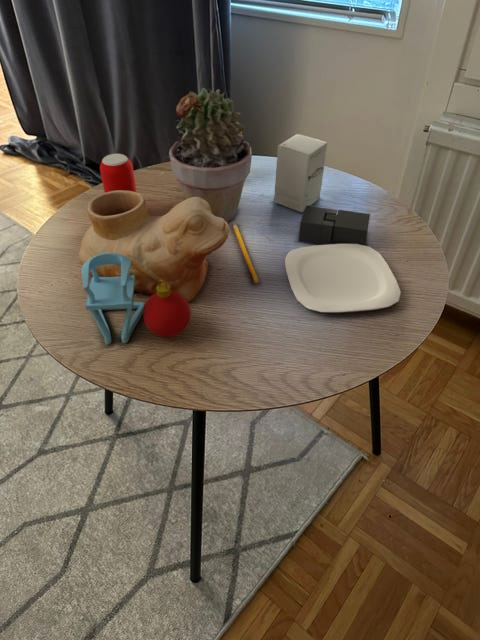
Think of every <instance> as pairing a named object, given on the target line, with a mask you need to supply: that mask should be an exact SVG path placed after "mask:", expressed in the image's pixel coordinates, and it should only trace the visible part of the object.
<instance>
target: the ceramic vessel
mask: <svg viewBox="0 0 480 640" xmlns="http://www.w3.org/2000/svg"><path fill="white" fill-rule="evenodd" d="M147 207H148V206H147V203H146V199H145V197H144V196H143V195H142V194H141V193H138V192H137V193H136V192H132V191H123V190H117V191H111V192H106V193H105V192H102V193H99V194H98V195H96V196H94V197H93V198H92V199H90V201H89V202H88V203H87V208H86V210H87V214H88V217H89V219H90V222H91V226H90V227H88V228H87V230H86V231H85V233H84V234H83V237H82V240H81V243H80V248H79V252H78V260H79V263H80V264H81V267H82V266H83V264H84V263H86V262H87V261H88V260H89V259H90V258H92V257H94V256H96V255H99V254H102V253H116V254H120V255H124V256H126V257H128V258H130V259H131V266H130V271H129V274H130V276H131V275H135V287H134V294H141V295H145V296H146V295H147V296H148V295H150V296H152V295H153V294H154V293H156V292H157V290H156V287H157V285H158V281H159V280H163V281H165V282H166V283H167V284H169V285H170V290H171V291H175V292H177V293H179V294H181V295H182V296H183V297H184V298H185V299H186V300H187V302H188V303H190V302H191V301H193V299H194V298H195V297H196V296H197V294H198V293H199V292H200V290H201V289H202V288H203V285H204V283H205V280H206V276H207V272H208V266H209V265H208V262H207V261H208V260H206V257H207V256H210V255H211V254H212V253H213V252H215V251H217V250H218V249H219V248H221V247H222V246H224V244H225V242H226V241H227V239H228V238H229V234H230V226H229V223H228V222H226V221H225V220H224V219H223V218H219V217H216V216H214V215H213V214H212V212H211V208H210V205H209V204H208V202H207V201H205V200H204V199H201V198H199V197H192V198H189V199H186V200H185V199H184V200H183V201H181V202H179V203H177V204H176V205H175V206H173V207H172V208H171V209H170V210H169V211H168V212H167V213H166V214H164V215H158V216H156V215H155V216H154V215H150V214H149V212H148V208H147ZM95 269H96V271H97V273H98V275H99V277H120V276H121V265H117V264H106V265H100V266H97V267H95ZM89 276H91V278H92V277H93V274H92V272H91V269H90V273H89ZM161 283H163V282H162V281H159V284H161Z"/></svg>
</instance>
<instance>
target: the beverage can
mask: <svg viewBox="0 0 480 640" xmlns="http://www.w3.org/2000/svg"><path fill="white" fill-rule="evenodd" d="M134 171H135V170H134V165H133V163H132V161H131V160H130V159H129V157H128V156H127V155H125V154H122V153H111V154H108V155H105V156H104V157H103V158H102V159H101V162H100V165H99V172H100V177H101V181H102V186H103V193H106V192H111V191H117V190H123V191H132V192H136V193H138V191H137V185H136V178H135V172H134Z"/></svg>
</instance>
